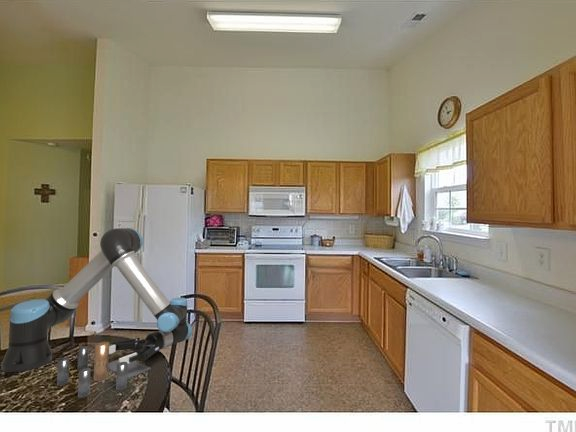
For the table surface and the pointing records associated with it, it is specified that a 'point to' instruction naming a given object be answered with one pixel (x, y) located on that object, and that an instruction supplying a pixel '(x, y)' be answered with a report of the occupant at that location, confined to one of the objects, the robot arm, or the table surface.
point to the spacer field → (87, 373)
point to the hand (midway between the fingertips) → (108, 358)
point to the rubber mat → (129, 368)
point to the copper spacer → (101, 361)
